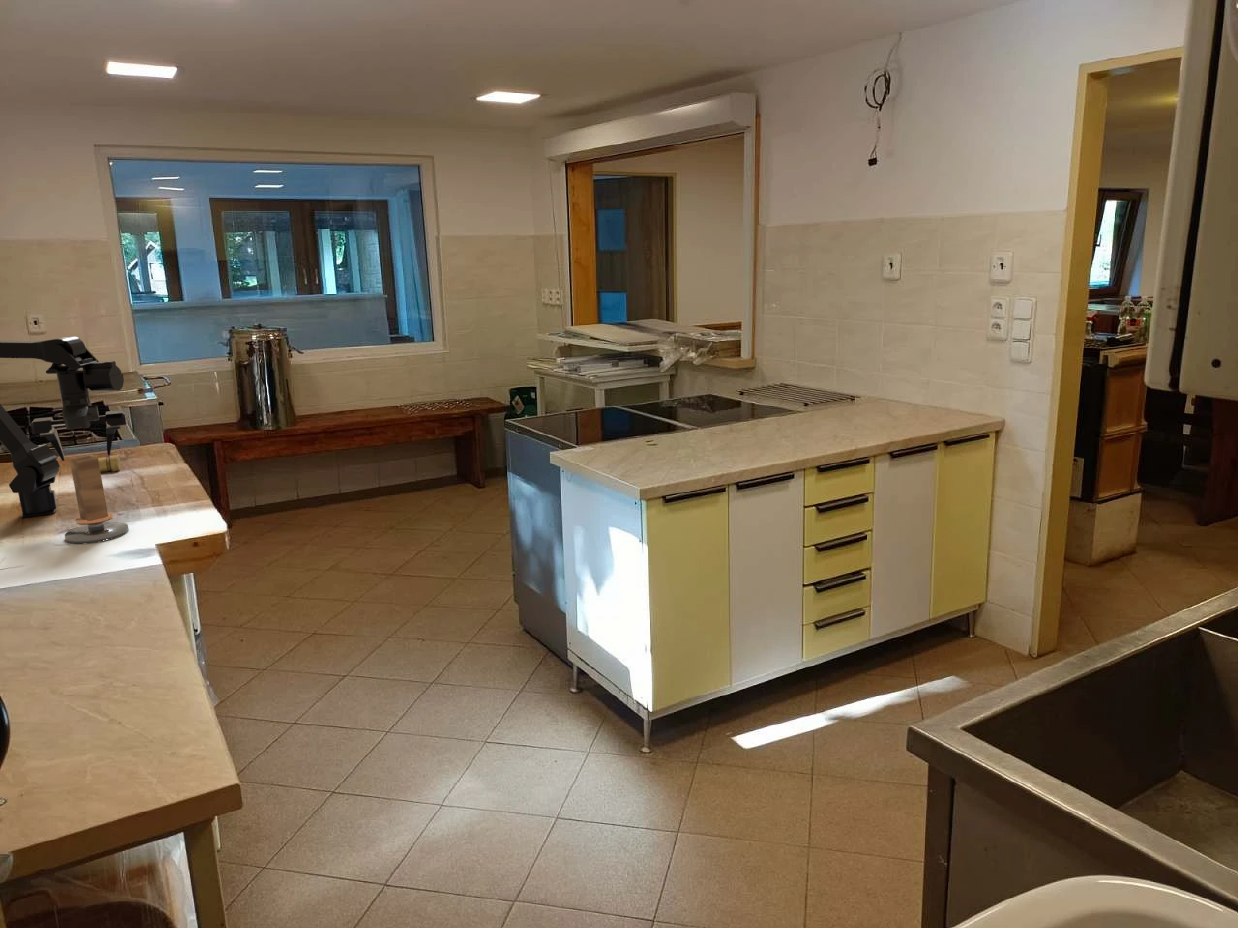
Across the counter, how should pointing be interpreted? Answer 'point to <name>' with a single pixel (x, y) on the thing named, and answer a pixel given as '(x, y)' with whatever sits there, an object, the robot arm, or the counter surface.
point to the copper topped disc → (96, 530)
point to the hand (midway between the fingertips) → (86, 458)
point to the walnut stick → (89, 488)
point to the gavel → (109, 463)
